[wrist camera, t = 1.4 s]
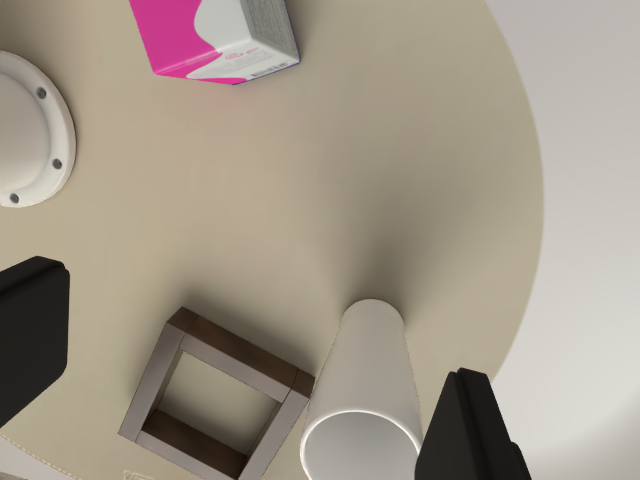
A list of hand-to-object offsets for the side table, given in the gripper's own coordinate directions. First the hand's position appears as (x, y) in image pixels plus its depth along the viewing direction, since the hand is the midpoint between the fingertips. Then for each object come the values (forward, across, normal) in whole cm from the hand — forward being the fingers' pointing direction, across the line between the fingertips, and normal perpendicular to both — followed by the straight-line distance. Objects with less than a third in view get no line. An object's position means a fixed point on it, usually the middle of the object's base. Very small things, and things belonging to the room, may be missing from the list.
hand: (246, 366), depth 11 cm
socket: (+26, +7, +23) cm, 35 cm away
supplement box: (+26, +9, -9) cm, 29 cm away
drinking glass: (+26, -5, +11) cm, 28 cm away
